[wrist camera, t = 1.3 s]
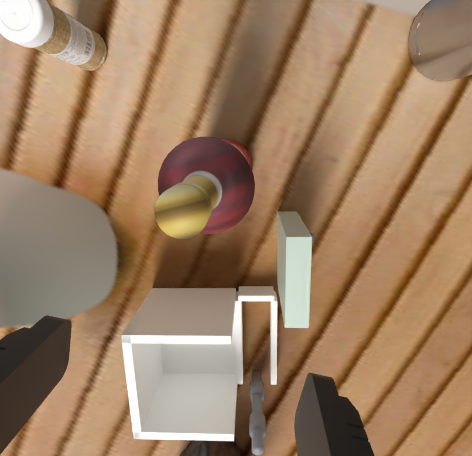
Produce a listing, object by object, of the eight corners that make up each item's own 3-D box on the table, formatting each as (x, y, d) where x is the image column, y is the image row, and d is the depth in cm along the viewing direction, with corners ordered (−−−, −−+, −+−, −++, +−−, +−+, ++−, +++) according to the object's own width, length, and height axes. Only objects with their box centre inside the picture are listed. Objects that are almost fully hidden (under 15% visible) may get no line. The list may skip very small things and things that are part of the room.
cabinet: (275, 286, 48) (284, 339, 35) (275, 380, 52) (282, 458, 39) (152, 286, 49) (117, 337, 36) (160, 378, 53) (131, 454, 40)
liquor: (190, 145, 43) (86, 159, 16) (246, 130, 42) (234, 117, 15) (206, 200, 45) (135, 295, 18) (259, 186, 44) (271, 264, 17)
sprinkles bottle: (78, 23, 40) (-5, -32, 27) (113, 41, 41) (48, -4, 28) (66, 61, 41) (-20, 26, 28) (100, 78, 42) (32, 52, 29)
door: (304, 211, 45) (321, 236, 33) (301, 281, 47) (317, 327, 36) (277, 211, 45) (286, 237, 33) (277, 281, 48) (284, 327, 36)
